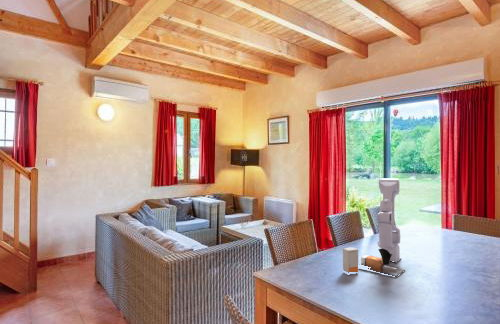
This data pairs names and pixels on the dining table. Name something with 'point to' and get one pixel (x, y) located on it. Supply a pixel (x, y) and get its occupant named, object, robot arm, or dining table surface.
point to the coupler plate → (384, 268)
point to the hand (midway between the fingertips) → (386, 264)
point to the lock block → (374, 262)
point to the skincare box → (350, 259)
